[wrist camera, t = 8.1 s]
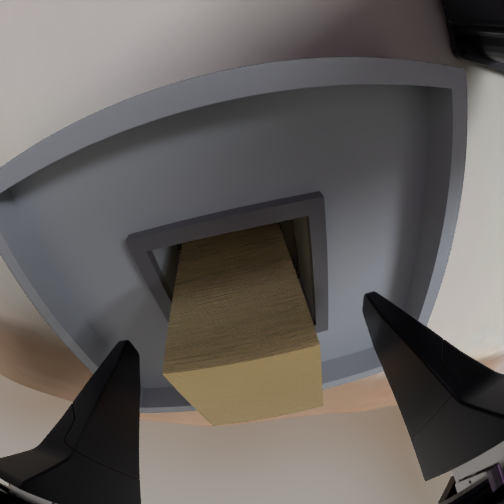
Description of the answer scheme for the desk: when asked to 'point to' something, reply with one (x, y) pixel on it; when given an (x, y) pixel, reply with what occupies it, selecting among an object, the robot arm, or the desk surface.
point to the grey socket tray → (243, 201)
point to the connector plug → (242, 329)
